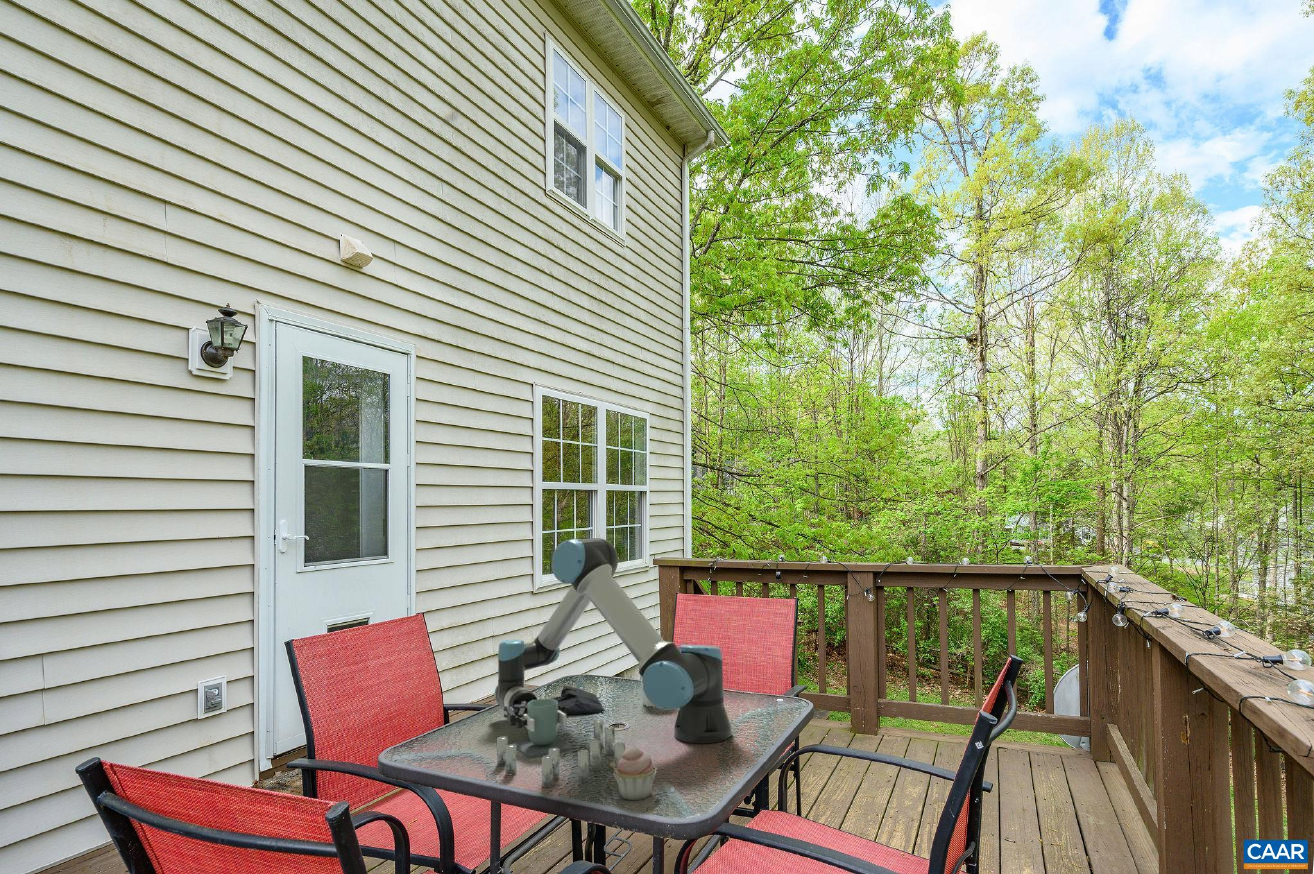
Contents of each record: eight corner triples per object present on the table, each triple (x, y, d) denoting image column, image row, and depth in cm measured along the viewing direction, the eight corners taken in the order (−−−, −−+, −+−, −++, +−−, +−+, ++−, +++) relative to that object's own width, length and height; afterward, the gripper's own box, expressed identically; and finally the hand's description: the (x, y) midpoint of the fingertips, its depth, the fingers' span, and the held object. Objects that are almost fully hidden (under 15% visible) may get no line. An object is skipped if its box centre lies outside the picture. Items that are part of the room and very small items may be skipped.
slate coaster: (513, 745, 176) (513, 743, 176) (556, 737, 182) (556, 735, 182) (527, 758, 166) (527, 756, 166) (573, 749, 171) (573, 747, 171)
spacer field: (496, 763, 162) (496, 737, 163) (615, 740, 177) (615, 716, 178) (525, 795, 143) (525, 764, 143) (656, 766, 158) (655, 739, 159)
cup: (532, 750, 169) (532, 708, 170) (523, 741, 176) (523, 701, 177) (562, 744, 172) (562, 703, 174) (552, 736, 179) (552, 697, 180)
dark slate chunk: (557, 719, 201) (556, 702, 201) (549, 701, 222) (549, 686, 222) (608, 714, 205) (607, 697, 205) (595, 697, 226) (595, 682, 226)
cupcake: (662, 787, 145) (661, 738, 146) (651, 805, 136) (649, 752, 137) (621, 784, 147) (620, 736, 148) (607, 801, 138) (606, 750, 139)
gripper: (556, 711, 195) (587, 731, 175) (484, 723, 185) (508, 746, 165) (556, 684, 196) (586, 701, 176) (484, 694, 186) (508, 713, 166)
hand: (549, 723), depth 170 cm, fingers closed on cup, 8 cm apart
